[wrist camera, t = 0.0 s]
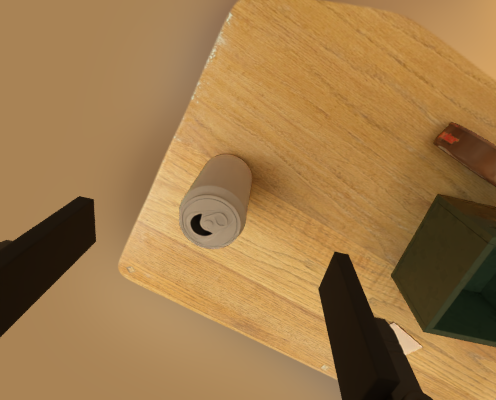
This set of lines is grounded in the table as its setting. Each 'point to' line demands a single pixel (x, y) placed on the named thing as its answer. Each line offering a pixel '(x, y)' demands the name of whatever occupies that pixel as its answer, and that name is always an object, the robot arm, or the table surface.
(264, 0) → the table surface
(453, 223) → the waste bin
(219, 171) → the beverage can
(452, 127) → the tin
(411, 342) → the coaster
